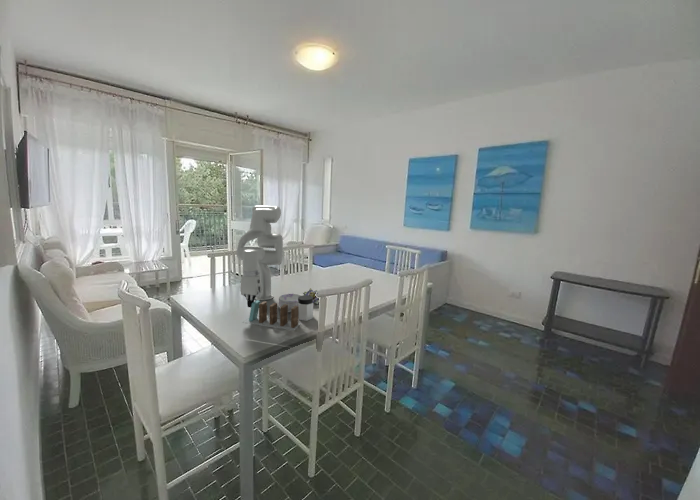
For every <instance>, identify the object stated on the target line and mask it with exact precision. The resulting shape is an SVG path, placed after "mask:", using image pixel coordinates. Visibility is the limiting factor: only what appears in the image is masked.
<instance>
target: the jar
mask: <svg viewBox="0 0 700 500" xmlns="http://www.w3.org/2000/svg"><path fill="white" fill-rule="evenodd" d="M301 295H302V296H299V297H298V306H299V308H298V321H307V322H308V321H309V320H313V319H314V305H313V297H312V296H309V295H304V294H301Z"/></svg>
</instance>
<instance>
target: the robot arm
mask: <svg viewBox="0 0 700 500" xmlns="http://www.w3.org/2000/svg"><path fill="white" fill-rule="evenodd" d="M251 210H252V211H251V212H252V213H251V220H250V225H249V229H248V230H247V231H246V232H245V233H244V234H243V235H242V236H241V237H240V239H239V240H238V244H237V248H236V249H237V250H236V258H237V259H238V260H240V261H242V275H241V277H240V286H239V287H240V290H239V291H240V295H241V296H243V297H245V299H246V301H247V303H246V304H247V308H250V309H251V305H252V303H253V302H255V301H256V300H258V301H270V300H272V299H273V298H274V294H273V293H272V270H271V269H270V267H269V266H279V265H280V266H281V264H282V263H283V253H284V252H283V249H284V248H283V246H284V245H283V244H284V241H283V236H282V234H280V233H272V224H276V223H278V221H280V218H281V216H282V210H281V208H280V206H279V205H278V206H277V205H266V204H264V205H262V204H261V205H259V204H258V205H253V207H252V208H251ZM255 239H257V241H256V242H257V243H256V244H257V246H246V245H247V244H248V243H249V242H251V241H253V240H255ZM270 249H272V250H270ZM273 249H274V250H273Z"/></svg>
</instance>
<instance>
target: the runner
mask: <svg viewBox="0 0 700 500" xmlns="http://www.w3.org/2000/svg"><path fill="white" fill-rule="evenodd" d="M269 319H270V317H268V316H267V320H266V321H264V322H263V323H259V315H257V318H256V319H255V320H253V321H249V317H248V318H247V319H245V320H244V321H242V323H243V324H248V325H249V324H250V325H255V326H256V325H257V326H263V327H269V328H277V329H281V330H287V331H295V330H297V329H298V327H299V326H300V325H301V324H302V322H300V321H298V325H297V326H296V327H295V328H291V320H288V323H287V324H285V325H284V326H280V318H277V322H275V323H274V324H273V325H271V324H269Z"/></svg>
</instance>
